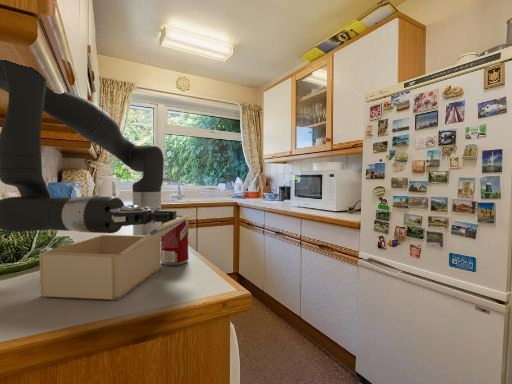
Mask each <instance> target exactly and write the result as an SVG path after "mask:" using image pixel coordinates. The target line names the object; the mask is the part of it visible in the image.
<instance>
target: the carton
mask: <svg viewBox="0 0 512 384" xmlns="http://www.w3.org/2000/svg"><path fill="white" fill-rule="evenodd" d="M143 237H144V236H137V235H133V234H131V235H130V234H129V235H128V234H126V235H125V234H100V235H96V236H93V237H89V238H86V239H82V240H80V241H79V240H78V241H76V242H73V243H69V244H65V245H63V246H59V247H56V248H52V249H49V250H47V251H43V252H40V253H39V255H38V256H39V283H40V284H39V286H40V294H41V297H42V298H43V297H44V298H61V299H84V300H85V299H86V300H103V301H104V300H105V301H107V300H109V301H120V300H121V299H123V298H124V297H125V296H127V295H128V294H130V293H131V292H132V291H133V290H135V289H136V288H138V287H140V285H142V284H143V283H144V282H146V281H147V280H148V279H150V278H151V277H152V276H154V275H155V274H157V273H158V272H159V271H161V270H162V269H161V267H162V266H161V264H162V262H161V240H160V238H158V239H155V240H153V241H151V242H149V243H147V244H145V245H143V246H141V247H138V248H136V249H134V250H132V251H130V252H128V253H126V254H124V255H122V254H121V252H123V251H124V250H126V249H127V248H128V247H130V246H131V245H133V244H134V243H136V242H137V241H139V240H140V239H141V238H143Z"/></svg>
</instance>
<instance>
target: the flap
mask: <svg viewBox="0 0 512 384" xmlns="http://www.w3.org/2000/svg"><path fill="white" fill-rule="evenodd" d="M192 216H194V213H193V212H191V213H188V214H185V215H182V217H180V218H177V219H174V220H171V221H169V222H166V223H163V224H162V225H160V226H159V227H157V228H156V229H154V230H153V231H151V232H150V233H149V234H147V235H146V236H144V237H143V238H141V239H140V240H139V241H137V242H136V243H134V244H133V245H131V246H130V247H128V248H127V249H126V250H124V251H123V252H121V254H122V255H124V254H126V253H128V252H130V251H132V250H134V249H136V248H138V247H141V246H143V245H145V244H147V243H149V242H151V241H153V240H155V239H158V238H160V237H162V236H163V235H165V234H166V233H167V232H169V231H170V230H172V229H173V228H175V227H176V226H178V225H179V224H181V223H182V222H184V221H185V220H187V221H188V219H189V218H191V217H192Z"/></svg>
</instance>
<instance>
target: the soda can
mask: <svg viewBox="0 0 512 384" xmlns="http://www.w3.org/2000/svg"><path fill="white" fill-rule="evenodd" d="M182 216H183V214H182V215H178V214H176V219H177V218H180V217H182ZM163 223H166V222H161V225H162V224H163ZM160 241H161V264H164V265H166V266H169V267H170V266H171V267H174V266H175V267H176V266H182V265H184V264H185V263H186V262H188V261H189V222H188V219H187V220H185V221H184V222H182V223H181V224H179V225H178V226H176V227H175V228H173V229H172V230H170V231H169V232H167V233H166V234H165V235H163V236H162V237H161V240H160Z"/></svg>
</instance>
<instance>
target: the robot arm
mask: <svg viewBox="0 0 512 384" xmlns="http://www.w3.org/2000/svg"><path fill="white" fill-rule="evenodd" d="M47 82H48V79H47V80H46V79H45V78H44V77H43V76H42V75H41V74H40V73H39V72H38V71H37V70H35V69H34V68H32V67H27V66H23V65H19V64H16V63H13V62H10V61H7V60H0V89H1V90H2V91H4V92H7V94H8V103H7V110H6V114H5V118H4V120H3V123H2V127H1V130H0V181H1V183H3V184H5V185H7V186H13V187H15V188H16V189H17V190H18V192H19V195H20V196H11V197H5V198H1V199H0V230H2V231H5V232H10V233H11V232H12V233H17V232H20V233H21V232H35V231H44V230H46V231H49V230H51V231H64V232H68V231H69V232H71V231H72V232H78V233H86V234H87V233H91V234H92V233H94V234H95V233H97V234H115V233H118V232H119V231H120V230H122V227H129V226H132V235H137V236H146V235H147V234H149V233H150V232H151V231H153V230H154V229H156V228H157V227H159V226H160V225H161V223H162V222H169V221H171V220H174V219H176V215H177V211H176V210H173V209H172V210H171V209H170V210H169V209H167V210H166V209H163V210H162V185H163V184H164V183H163V182H164V166H165V165H164V162H165V159H164V158H165V157H164V154H163V151H162V149H161V148H160V147H159V146H158V145H153V144H148V145H147V144H146V145H138V144H135V143H133V142H132V141H130V140H129V139H127V138H126V137H125V136H123V134H122V131H121V129H120V126H119V124H118V123H117V121H116V119H115V118H113V116H111V115H110V114H109V113H107V111H106V110H104V109H102V107H100V106H98V105H97V104H95V103H94V102H92V101H90V100H88V99H85V98H83V97H81V96H78V95H76V94H73V93H70V92H68V91H66V90H64V91H65V92H64V93H62V94H57V93H54V92H53V91H52V90H50V89H49V88H48V87H47V86H46V85H47ZM43 113H46V114H47V115H49V116H50V117H52V118H54V119H55V120H57V121H58V122H60V123H62V124H63V125H65V126H66V127H68V128H69V129H72V130H73V131H74V132H76V133H77V134H79V135H80V136H82V137H83V138H85V139H86V140H88V141H90V142H91V143H93V144H95V145H97V146H99V148H102V149H103V150H104V151H106V152H108V153H109V154H111V155H113V156H114V157H115V158H116V159H118V160H119V161H121V162H122V163H123V165H125V166H127V167H128V168H129V169H131V170H132V171H135V172H138V173H142V177H141V179H139V180H138V181H136V182H134V183H133V184H132V204H129V205H125V203H124V202H123V200H122V199H120V198H119V197H117V196H92V195H91V196H89V195H87V196H76V197H75V196H73V197H72V196H71V197H70V196H67V197H66V196H61V197H60V196H59V197H51V195H50V191H49V190H48V187H47V184H46V182H45V179H44V177H43V162H42V145H41V144H42V137H41V136H42V135H41V134H42V123H43V115H44V114H43ZM160 241H161V237H160Z"/></svg>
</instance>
